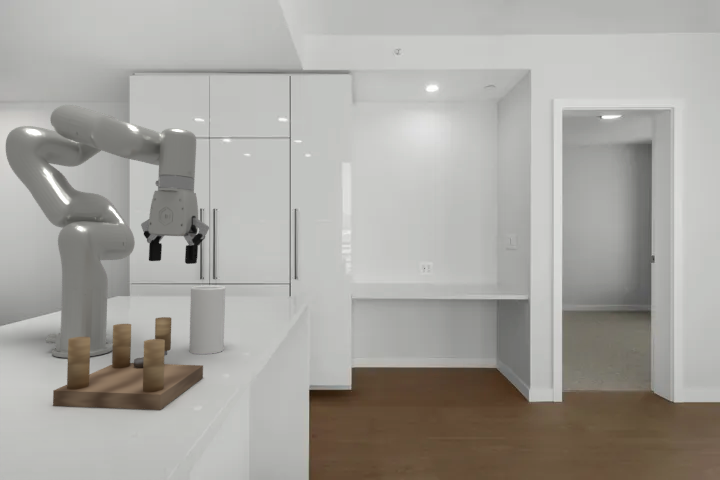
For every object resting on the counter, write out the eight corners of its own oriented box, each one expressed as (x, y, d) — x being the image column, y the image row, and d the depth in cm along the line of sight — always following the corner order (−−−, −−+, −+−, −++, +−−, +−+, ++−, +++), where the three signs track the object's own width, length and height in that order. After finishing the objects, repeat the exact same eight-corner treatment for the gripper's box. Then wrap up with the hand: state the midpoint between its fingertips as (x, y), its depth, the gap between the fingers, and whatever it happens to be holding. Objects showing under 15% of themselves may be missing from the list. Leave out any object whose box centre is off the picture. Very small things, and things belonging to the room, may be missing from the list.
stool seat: (52, 405, 76) (54, 341, 76) (115, 374, 94) (117, 322, 94) (160, 409, 75) (161, 344, 75) (202, 377, 93) (204, 325, 93)
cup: (204, 356, 111) (206, 289, 111) (182, 351, 115) (183, 286, 115) (230, 349, 118) (232, 287, 118) (208, 345, 122) (210, 284, 122)
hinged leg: (145, 367, 90) (146, 327, 90) (129, 366, 90) (130, 326, 90) (173, 352, 101) (174, 317, 101) (158, 352, 102) (159, 317, 102)
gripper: (132, 183, 102) (128, 260, 102) (198, 184, 97) (194, 265, 97) (156, 187, 109) (153, 259, 109) (219, 188, 104) (215, 264, 104)
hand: (172, 262), depth 103 cm, fingers open, 9 cm apart
